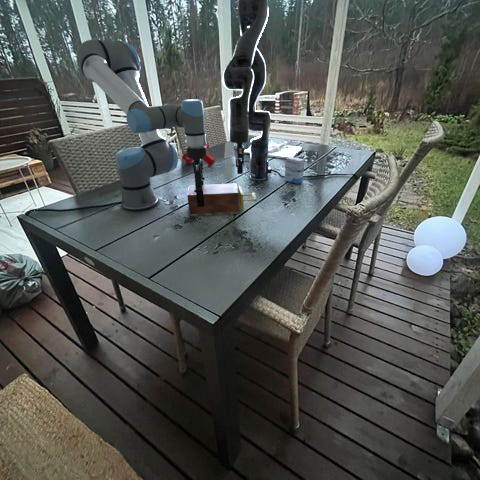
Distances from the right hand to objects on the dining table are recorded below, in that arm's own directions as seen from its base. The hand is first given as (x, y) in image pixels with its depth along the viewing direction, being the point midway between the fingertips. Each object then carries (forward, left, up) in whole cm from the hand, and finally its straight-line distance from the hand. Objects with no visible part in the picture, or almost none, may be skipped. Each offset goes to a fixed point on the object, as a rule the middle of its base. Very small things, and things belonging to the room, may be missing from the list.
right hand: (239, 170), depth 112 cm
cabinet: (+11, +4, -15) cm, 19 cm away
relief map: (-30, -86, -15) cm, 92 cm away
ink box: (-30, -26, -15) cm, 43 cm away
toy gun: (+21, -60, -15) cm, 65 cm away
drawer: (+6, +4, -14) cm, 16 cm away
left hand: (+16, +4, -11) cm, 20 cm away
